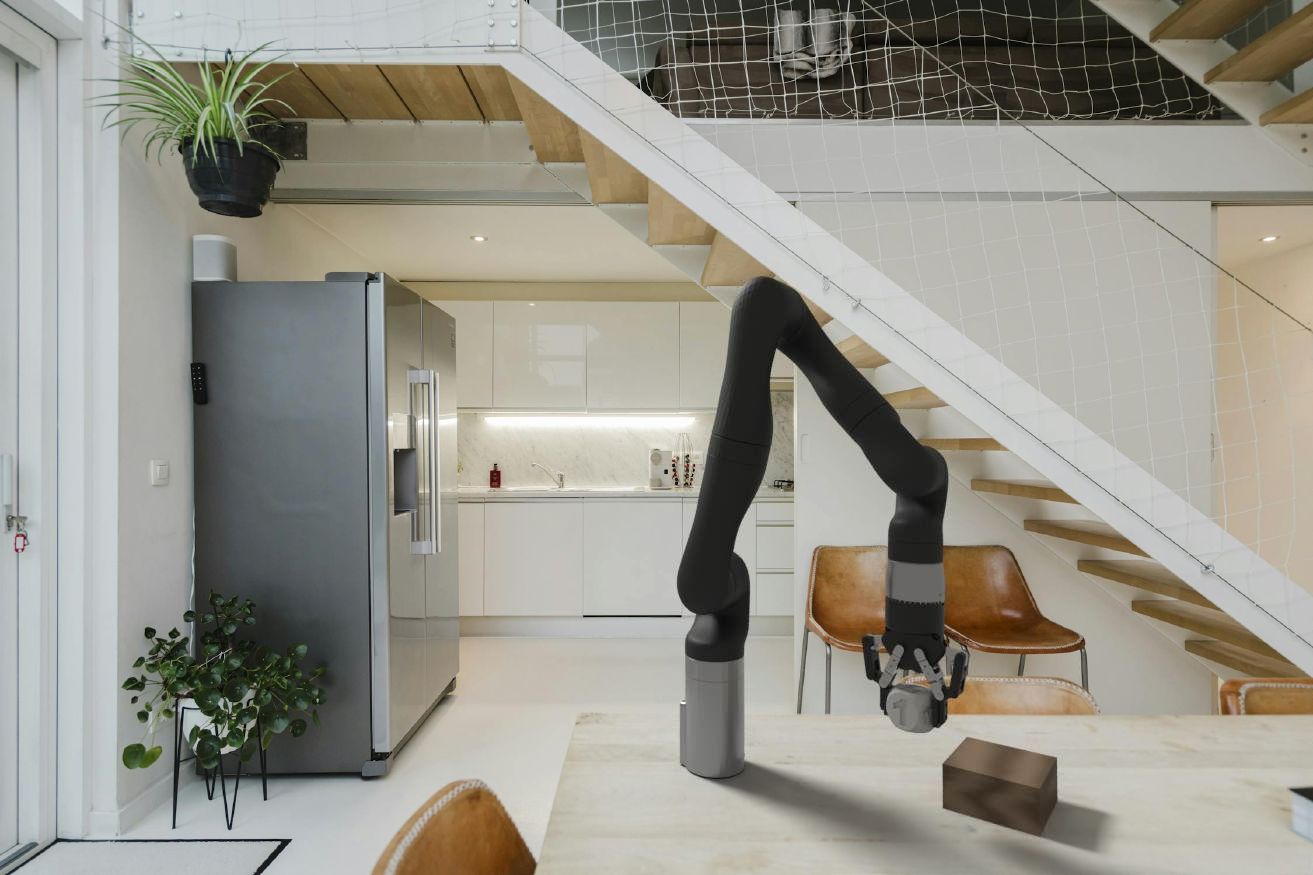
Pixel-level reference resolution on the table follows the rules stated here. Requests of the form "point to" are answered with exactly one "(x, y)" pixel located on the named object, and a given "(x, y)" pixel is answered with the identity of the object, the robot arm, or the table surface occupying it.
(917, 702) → the die
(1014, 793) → the pedestal
